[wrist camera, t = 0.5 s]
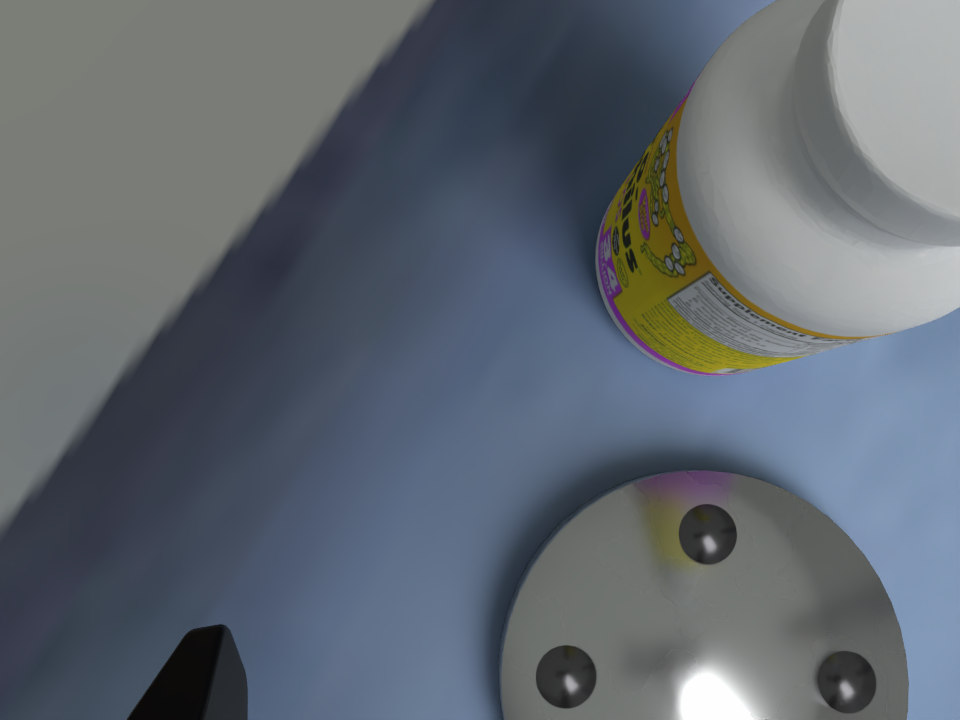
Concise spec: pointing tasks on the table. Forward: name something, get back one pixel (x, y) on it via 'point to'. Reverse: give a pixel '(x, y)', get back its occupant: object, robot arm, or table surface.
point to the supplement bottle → (796, 191)
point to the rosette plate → (701, 611)
